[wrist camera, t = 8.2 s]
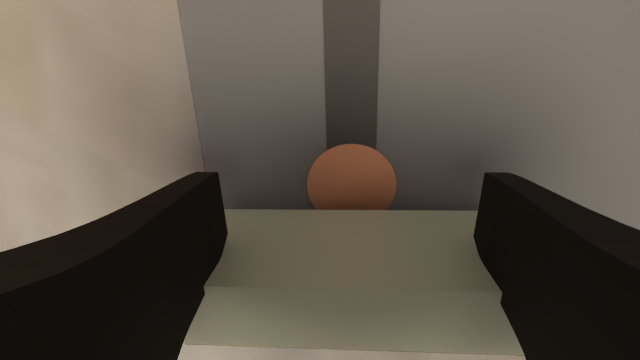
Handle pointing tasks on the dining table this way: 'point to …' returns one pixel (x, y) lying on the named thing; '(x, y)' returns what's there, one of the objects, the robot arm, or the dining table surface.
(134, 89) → the dining table surface
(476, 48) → the switch panel
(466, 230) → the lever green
